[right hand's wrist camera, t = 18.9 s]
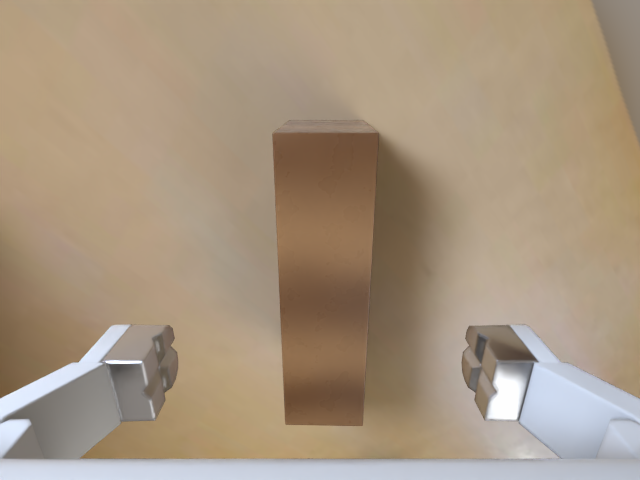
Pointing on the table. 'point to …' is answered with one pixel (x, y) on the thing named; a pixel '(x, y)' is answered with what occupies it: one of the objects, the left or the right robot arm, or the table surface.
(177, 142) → the table surface
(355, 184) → the box
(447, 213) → the table surface
